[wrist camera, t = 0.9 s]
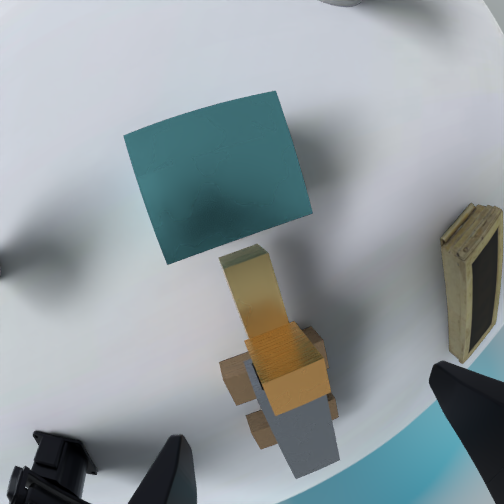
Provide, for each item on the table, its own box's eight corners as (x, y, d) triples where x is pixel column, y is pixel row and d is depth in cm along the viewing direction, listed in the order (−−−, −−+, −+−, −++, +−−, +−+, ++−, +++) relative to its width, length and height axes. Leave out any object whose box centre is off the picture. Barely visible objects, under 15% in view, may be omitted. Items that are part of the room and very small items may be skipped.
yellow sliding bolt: (318, 434, 22) (347, 482, 16) (288, 446, 22) (312, 498, 16) (262, 242, 17) (303, 273, 11) (213, 259, 17) (229, 301, 11)
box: (464, 192, 23) (503, 205, 18) (473, 317, 33) (496, 333, 28) (419, 242, 22) (461, 263, 18) (440, 356, 33) (462, 375, 28)
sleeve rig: (329, 408, 26) (361, 453, 19) (258, 437, 25) (276, 490, 18) (252, 120, 18) (285, 88, 12) (139, 156, 17) (113, 140, 11)
